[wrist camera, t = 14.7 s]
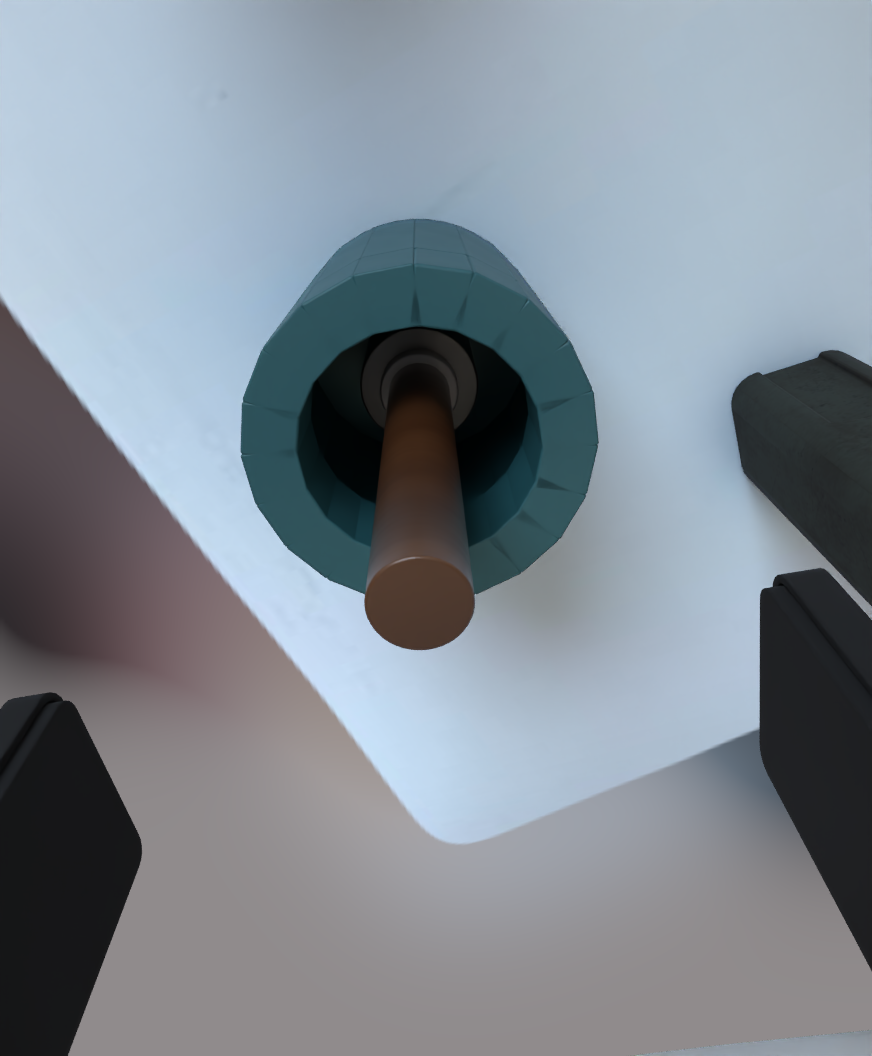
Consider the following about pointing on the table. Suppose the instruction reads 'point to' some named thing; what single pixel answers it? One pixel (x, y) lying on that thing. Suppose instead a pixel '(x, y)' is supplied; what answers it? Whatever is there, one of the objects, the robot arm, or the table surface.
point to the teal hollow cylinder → (356, 440)
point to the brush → (419, 486)
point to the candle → (815, 454)
